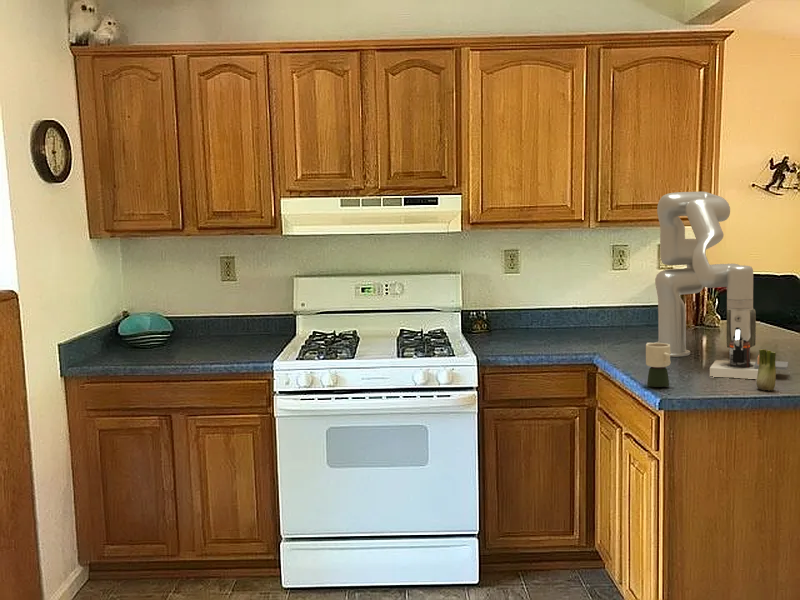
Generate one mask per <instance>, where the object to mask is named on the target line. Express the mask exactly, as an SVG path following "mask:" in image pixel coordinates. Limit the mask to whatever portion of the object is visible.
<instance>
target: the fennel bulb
mask: <svg viewBox="0 0 800 600" xmlns="http://www.w3.org/2000/svg"><path fill="white" fill-rule="evenodd" d="M758 352H759V353H758V355H759V369H758V375H757V380H756V387H757V388H758V389H759V390H760V391H761V390H762V391H765V390H768V391H770V390H771V391H774V390H775V387H776V379H777V376H776V375H777V374H776V373H777V369H776V366H775V361H776V358H777V357H776V356H777V354H776V353H777V352H775V351H772V350H769V349H768V350H767V349H762V348H761V349H758Z"/></svg>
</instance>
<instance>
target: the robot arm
mask: <svg viewBox="0 0 800 600" xmlns="http://www.w3.org/2000/svg"><path fill="white" fill-rule="evenodd" d="M656 207H657V209H656V212H657V217H658V222H659V230H660V232H659V233H660V234H659V235H660V236H659V248H660V249H659V258H660V261H661V263H662V264H663V265H666V266H686V268H669V269H664V270H661V271H659V272H657V274H656V276H655V279H654V281H655V282H654V283H655V284H654V286H655V289H656V294H657V296H656V297H657V313H658V314H657V315H658V317H657V318H658V323H657V324H658V325H657V326H658V327H657V328H658V329H657V330H658V340H657V341H656V342H655V343H665V344H670V351H671V353H670V358H671V357H672V358H673V357H677V358H678V357H686V356H690V355H691V351H690V349H687V345H686V344H687V343H686V342H687V341H686V339H687V337H686V336H687V335H686V334H687V333H686V328H687V326H686V325H687V324H686V323H687V322H686V319H687V317H686V315H687V314H686V311H687V310H686V305H685V303H684V301H683V299H682V298H681V295H691V294H692V295H693V294H698V293H700V292H702V291H703V289H704V288H708V289H711V288H712V289H713V288H714V289H715V288H726V310H727V309H728V310H731V339H732V340H733V341H734V347H733V362H734V363H744V350H743V343H744V340H746V341H748V340H749V339H750V336H751V335H750V310H753V309H754V269H753V267H752V266H750V265H745V264H744V265H742V264H741V265H740V264H738V263H720V264H719V263H716V264H710V263H709V260H708V258H707V255H706V250H708V249H710V248H712V247H714V246H716V245H717V244H719V243H720V242H721V241H722V240H723V239H724V235H725V234H724V231H723V229H722V227H721V224H720V223H721V222H725V221H727V220H728V219H729V217H730V215H731V207H730V204H729V202H728V200H727V199H725V198H724V197H722V196H719V195H716V194H714V193H710V192H707V191H680V192H679V191H677V192H670V193H669V192H668V193H666V194H664V195H662V196H661V197H660V199H659V200H658V204H657V206H656ZM680 217H687V219H688V221H689V225H690V227H691V230H692V232H693V235H694V237H695V238H686V227H685V224H684V221H682V219H681V218H680ZM719 222H720V223H719ZM733 337H734V338H733ZM740 339H742V340H740ZM650 343H653V342H646V344H650Z"/></svg>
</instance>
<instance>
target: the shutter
mask: <svg viewBox="0 0 800 600" xmlns="http://www.w3.org/2000/svg"><path fill="white" fill-rule="evenodd" d="M755 362H756V363H755V365H754V368H759V354H758V355H757V360H756V361H755ZM775 366H776V370H784V371H785V370H786V371H787V370H788V366H789V361H780V360H779V361H777V360H775Z"/></svg>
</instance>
